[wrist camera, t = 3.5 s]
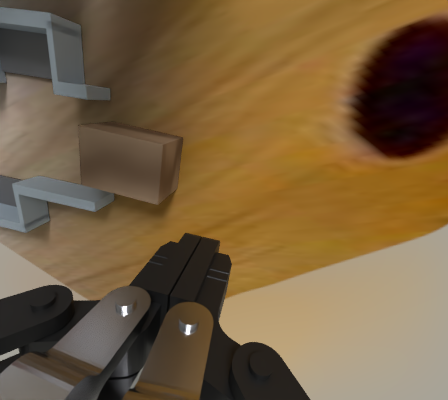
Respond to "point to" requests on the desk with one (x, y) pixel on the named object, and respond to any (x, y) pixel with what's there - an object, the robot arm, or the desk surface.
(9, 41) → the trap channel
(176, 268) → the robot arm
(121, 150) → the walnut block
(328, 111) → the desk surface
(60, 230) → the desk surface
